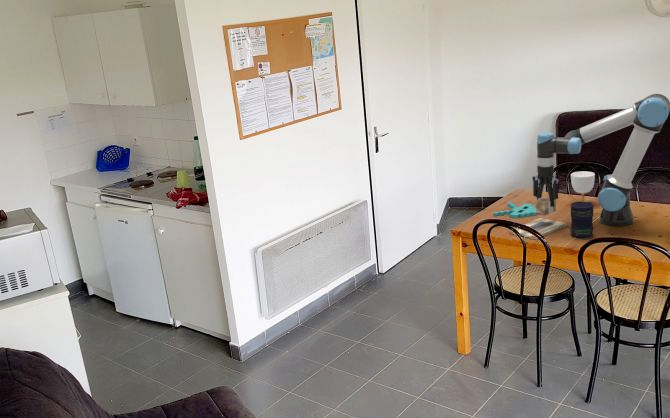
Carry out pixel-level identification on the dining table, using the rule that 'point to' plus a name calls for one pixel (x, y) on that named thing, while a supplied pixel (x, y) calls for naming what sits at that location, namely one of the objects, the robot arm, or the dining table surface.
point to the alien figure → (518, 211)
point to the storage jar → (582, 220)
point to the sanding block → (544, 206)
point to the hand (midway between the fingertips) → (545, 211)
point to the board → (541, 227)
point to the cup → (582, 182)
